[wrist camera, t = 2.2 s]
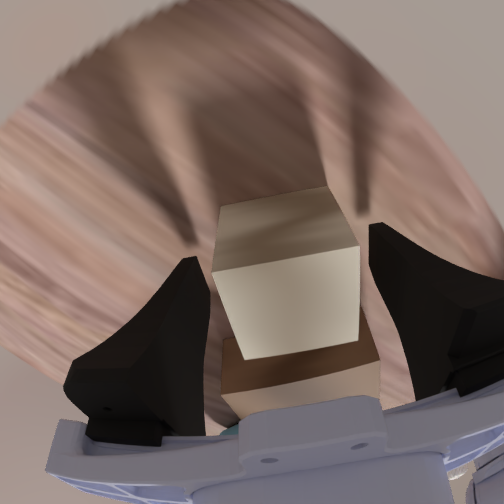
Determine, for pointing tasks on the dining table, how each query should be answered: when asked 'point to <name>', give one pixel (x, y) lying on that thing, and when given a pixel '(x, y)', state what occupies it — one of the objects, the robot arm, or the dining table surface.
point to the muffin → (457, 472)
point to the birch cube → (288, 273)
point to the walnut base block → (300, 375)
